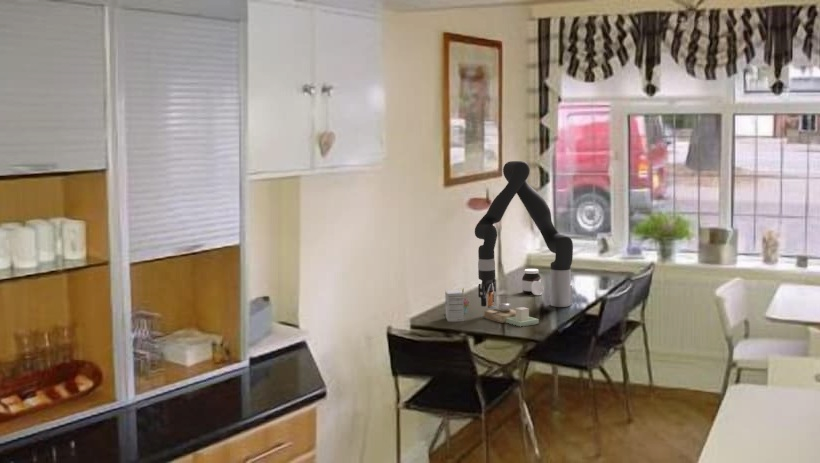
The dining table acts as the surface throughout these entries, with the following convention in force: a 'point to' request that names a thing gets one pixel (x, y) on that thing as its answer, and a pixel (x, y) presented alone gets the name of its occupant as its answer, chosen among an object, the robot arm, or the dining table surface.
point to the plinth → (499, 315)
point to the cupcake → (465, 303)
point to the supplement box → (454, 305)
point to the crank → (502, 306)
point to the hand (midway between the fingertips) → (487, 304)
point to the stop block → (522, 314)
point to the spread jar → (532, 282)
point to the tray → (524, 323)
